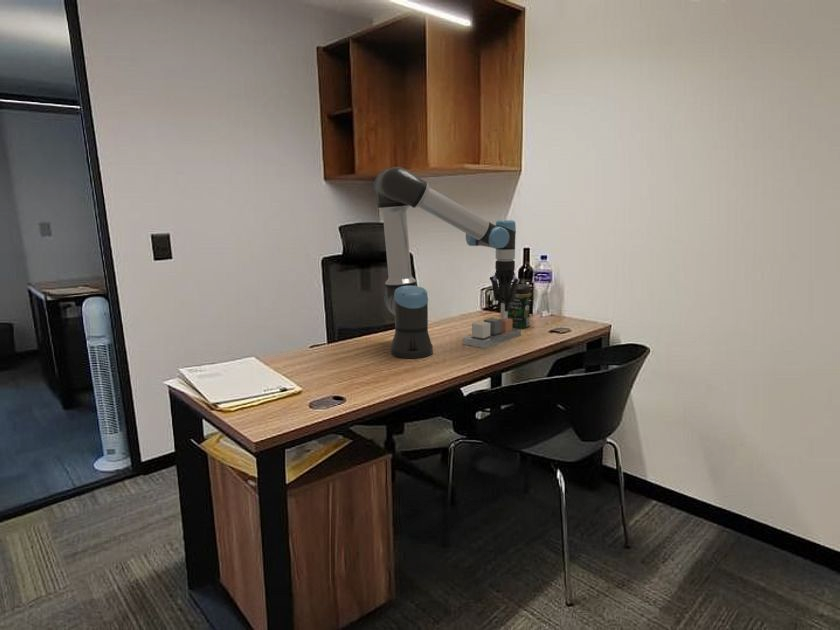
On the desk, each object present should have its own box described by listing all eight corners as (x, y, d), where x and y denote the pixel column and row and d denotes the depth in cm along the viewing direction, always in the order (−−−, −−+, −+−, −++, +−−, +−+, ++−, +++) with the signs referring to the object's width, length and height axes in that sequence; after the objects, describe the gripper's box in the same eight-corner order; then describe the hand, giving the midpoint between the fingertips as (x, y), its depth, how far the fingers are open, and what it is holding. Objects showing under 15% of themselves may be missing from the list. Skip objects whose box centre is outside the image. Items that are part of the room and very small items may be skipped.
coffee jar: (503, 326, 225) (504, 284, 221) (513, 323, 230) (514, 282, 227) (523, 329, 218) (524, 286, 215) (532, 326, 224) (534, 284, 220)
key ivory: (482, 338, 193) (482, 325, 192) (471, 336, 196) (471, 323, 195) (490, 335, 196) (490, 322, 195) (479, 333, 200) (479, 321, 198)
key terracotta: (505, 333, 205) (505, 321, 204) (494, 331, 208) (495, 319, 207) (512, 331, 208) (512, 319, 207) (501, 329, 212) (501, 317, 211)
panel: (484, 348, 190) (484, 341, 189) (462, 344, 196) (462, 337, 196) (520, 335, 209) (520, 329, 208) (499, 331, 215) (499, 325, 215)
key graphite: (494, 334, 198) (494, 321, 197) (483, 332, 202) (483, 319, 201) (501, 331, 202) (501, 319, 201) (490, 330, 205) (491, 317, 204)
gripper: (524, 260, 201) (523, 319, 206) (496, 258, 209) (495, 315, 214) (514, 261, 195) (513, 322, 200) (485, 259, 204) (485, 318, 209)
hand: (504, 318), depth 207 cm, fingers closed
